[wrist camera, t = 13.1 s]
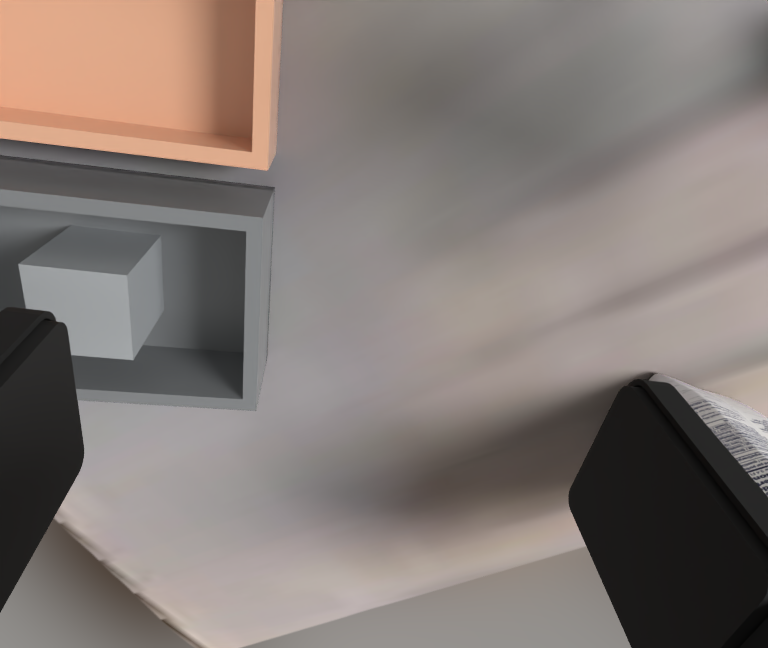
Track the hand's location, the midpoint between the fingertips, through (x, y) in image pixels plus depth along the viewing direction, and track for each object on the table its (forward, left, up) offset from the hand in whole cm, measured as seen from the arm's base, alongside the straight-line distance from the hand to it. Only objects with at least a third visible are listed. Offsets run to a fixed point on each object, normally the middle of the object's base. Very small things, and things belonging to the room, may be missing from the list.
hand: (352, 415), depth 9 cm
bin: (+9, -13, -25) cm, 29 cm away
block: (+9, -13, -24) cm, 29 cm away
